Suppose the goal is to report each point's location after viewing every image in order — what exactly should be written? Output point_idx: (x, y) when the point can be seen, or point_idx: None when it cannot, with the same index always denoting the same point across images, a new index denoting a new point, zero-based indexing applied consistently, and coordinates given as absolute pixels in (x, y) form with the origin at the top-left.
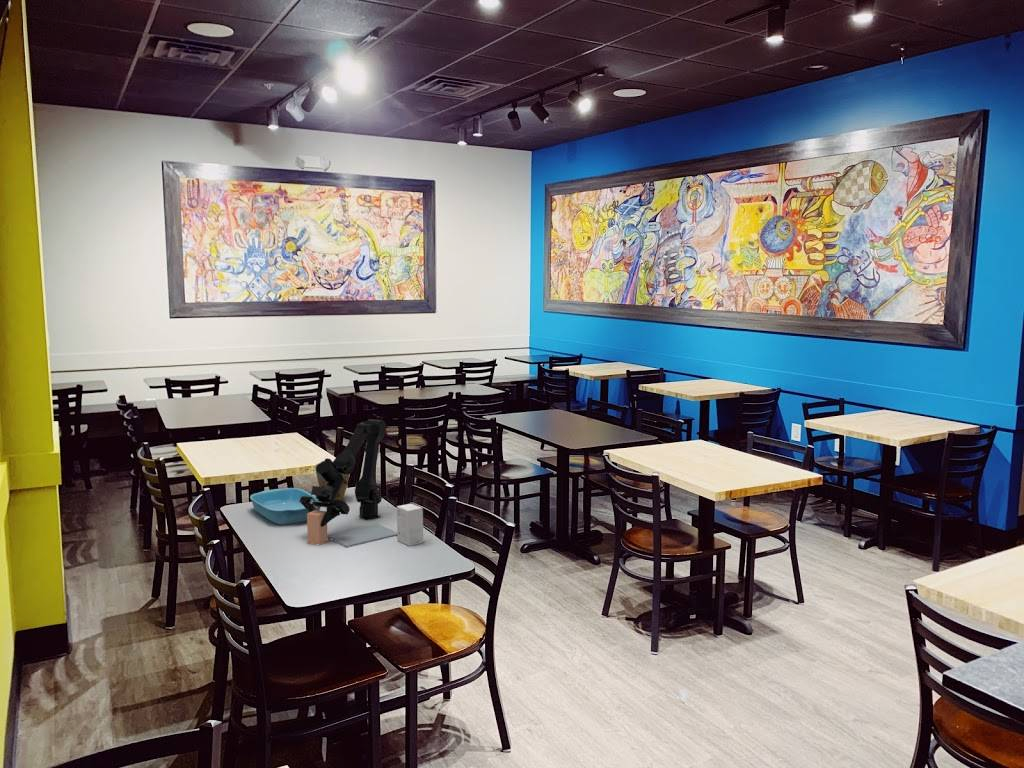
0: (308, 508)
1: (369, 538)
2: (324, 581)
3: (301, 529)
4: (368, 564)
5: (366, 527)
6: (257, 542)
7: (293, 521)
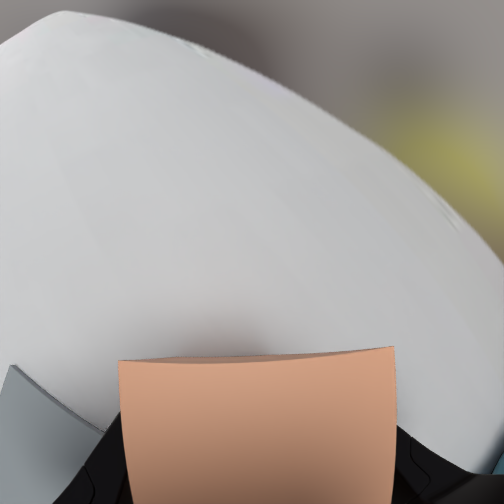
0: (475, 477)
1: (2, 496)
2: (15, 70)
3: None
4: None
5: None
6: (461, 246)
7: None
